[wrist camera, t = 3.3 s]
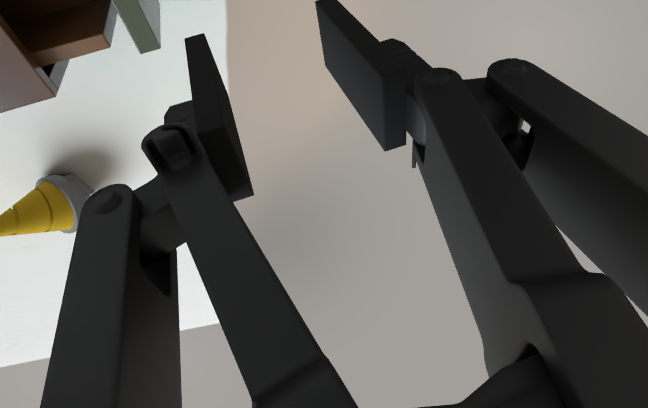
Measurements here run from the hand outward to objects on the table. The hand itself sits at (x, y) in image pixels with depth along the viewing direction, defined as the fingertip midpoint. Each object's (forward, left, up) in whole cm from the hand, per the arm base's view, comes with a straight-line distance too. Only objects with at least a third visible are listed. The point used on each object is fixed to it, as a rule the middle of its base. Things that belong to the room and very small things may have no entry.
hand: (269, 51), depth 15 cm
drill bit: (+26, -5, -17) cm, 31 cm away
